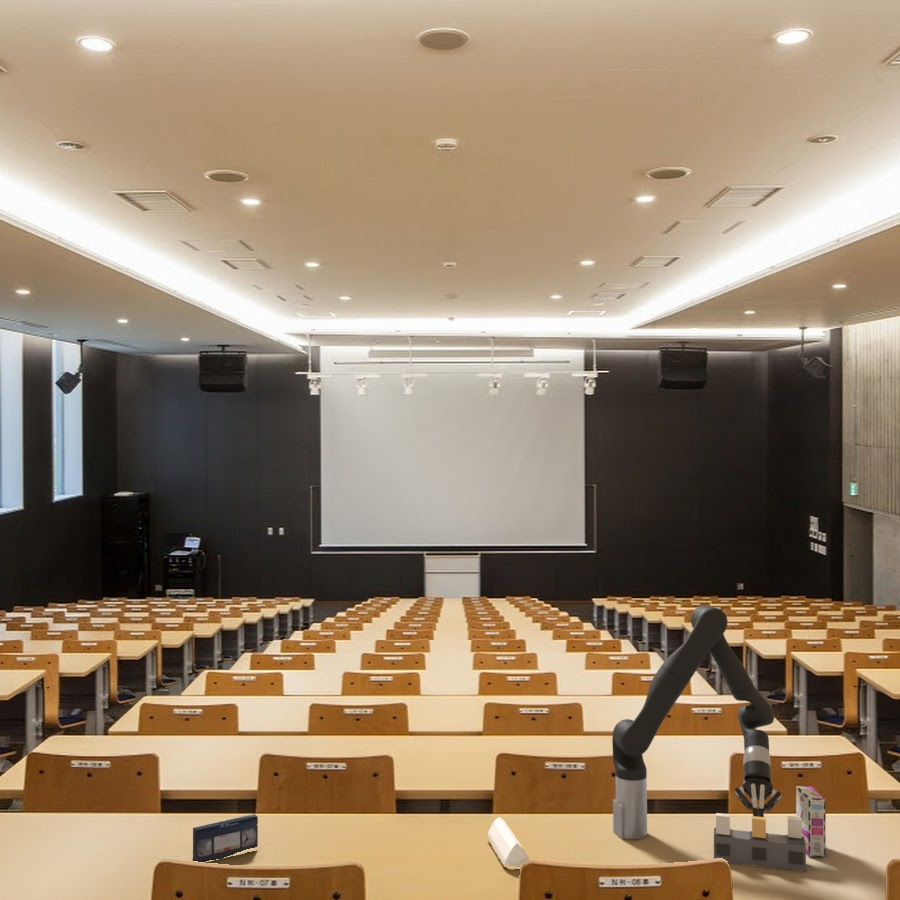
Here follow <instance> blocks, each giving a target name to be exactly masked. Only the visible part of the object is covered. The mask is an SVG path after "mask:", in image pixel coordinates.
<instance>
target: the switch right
mask: <svg viewBox="0 0 900 900" xmlns="http://www.w3.org/2000/svg"><path fill="white" fill-rule="evenodd" d="M787 835H788V837H792V838H802V818H801V817H796V816H787Z"/></svg>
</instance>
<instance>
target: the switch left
mask: <svg viewBox="0 0 900 900" xmlns="http://www.w3.org/2000/svg"><path fill="white" fill-rule="evenodd" d="M730 816H731V814H728V813H719V812H716V813H715V818H716V819H715V823H716V824H715V826H716V827H715V828H716V834H724V835H730V829H731V823H730V822H731V820H730V819H731V817H730Z"/></svg>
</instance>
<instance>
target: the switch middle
mask: <svg viewBox="0 0 900 900" xmlns="http://www.w3.org/2000/svg"><path fill="white" fill-rule="evenodd" d="M751 831H752V837H758V838H766V833H767V820H766V817H765V816H764V817H756V816H753V815H752V816H751Z"/></svg>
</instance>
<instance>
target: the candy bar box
mask: <svg viewBox="0 0 900 900" xmlns="http://www.w3.org/2000/svg"><path fill="white" fill-rule="evenodd" d="M795 788H796V789H795V791H796V795H795V796H796V797H795V798H796V799H795V803H796V804H795V805H796V807H795V811H796V813H795V817H801V818H802V837H804V839H805V844H806V856H808V858H826V850H827V849H826V848H827V847H826V845H827V844H826V839H827V838H826V824H827V822H826V819H827V817H826V815H827V814H826V812H827V811H826V801H827V800H826V798H825V797H824V796H823V795H821V793H820V792H818V790H816V789H815V788H814V787H813V786H809V785H808V786H807V785H806V786H805V785H804V786H799V785H798V786H796V787H795Z"/></svg>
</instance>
